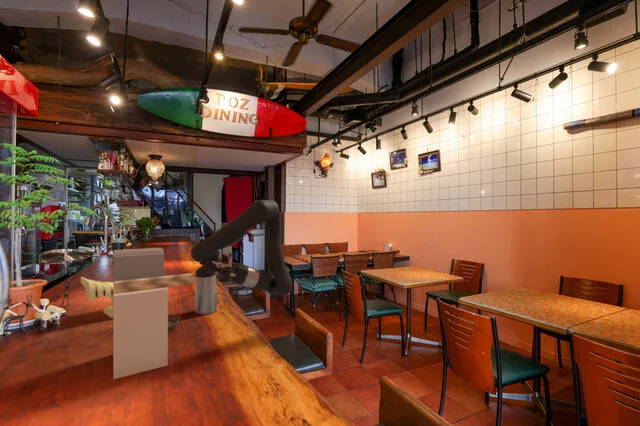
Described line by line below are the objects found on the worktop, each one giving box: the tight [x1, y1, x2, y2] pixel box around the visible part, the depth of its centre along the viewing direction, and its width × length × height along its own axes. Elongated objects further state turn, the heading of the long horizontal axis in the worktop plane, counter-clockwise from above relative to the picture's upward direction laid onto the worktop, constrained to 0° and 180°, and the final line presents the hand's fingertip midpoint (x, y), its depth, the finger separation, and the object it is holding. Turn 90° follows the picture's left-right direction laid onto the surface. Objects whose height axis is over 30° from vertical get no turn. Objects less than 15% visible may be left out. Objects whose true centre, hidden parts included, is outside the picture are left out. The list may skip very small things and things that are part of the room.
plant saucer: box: [168, 314, 181, 332], centre depth 123 cm, size 18×18×3 cm
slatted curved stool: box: [80, 276, 114, 319], centre depth 142 cm, size 30×16×18 cm, turn 140°
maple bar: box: [113, 272, 195, 294], centre depth 96 cm, size 22×3×3 cm, turn 125°
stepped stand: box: [112, 247, 169, 380], centre depth 97 cm, size 14×18×35 cm
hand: (202, 263), depth 106 cm, fingers open, 8 cm apart
